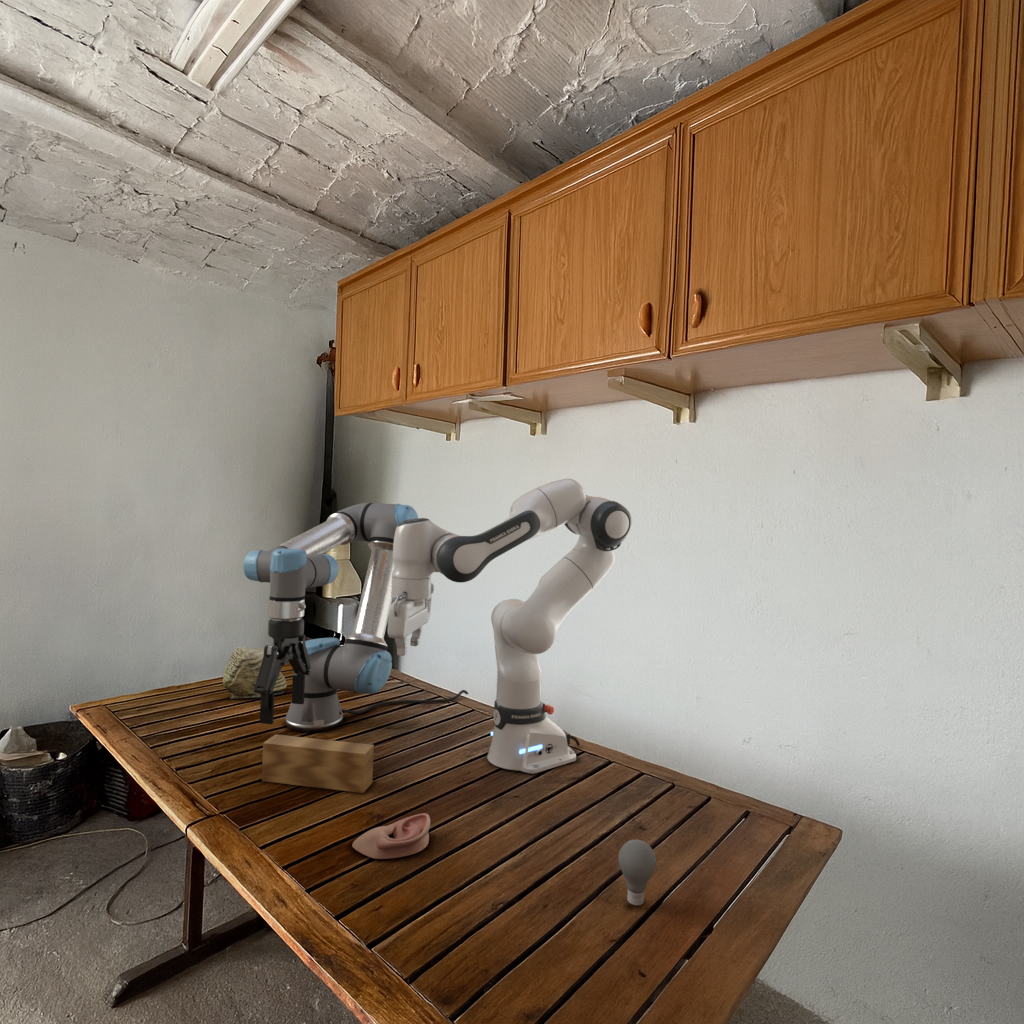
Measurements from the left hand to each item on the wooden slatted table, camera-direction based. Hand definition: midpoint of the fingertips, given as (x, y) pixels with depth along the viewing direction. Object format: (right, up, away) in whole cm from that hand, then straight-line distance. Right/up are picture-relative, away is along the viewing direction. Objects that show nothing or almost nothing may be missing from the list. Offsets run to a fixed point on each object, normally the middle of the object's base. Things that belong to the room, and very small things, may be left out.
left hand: (282, 713), depth 142 cm
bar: (+8, -15, -1) cm, 17 cm away
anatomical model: (+29, -16, -25) cm, 41 cm away
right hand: (+28, +13, +2) cm, 31 cm away
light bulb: (+71, -19, -39) cm, 83 cm away
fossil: (-29, -12, +57) cm, 65 cm away
